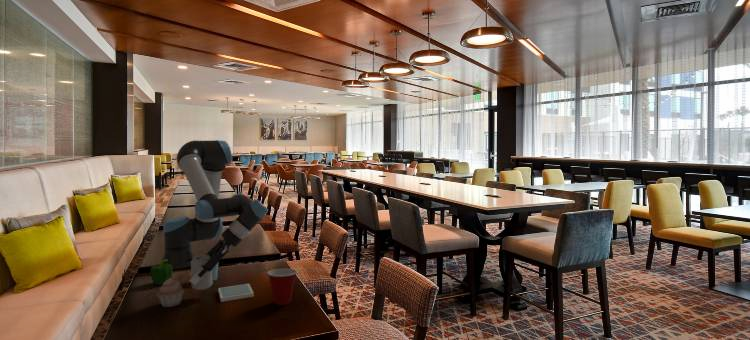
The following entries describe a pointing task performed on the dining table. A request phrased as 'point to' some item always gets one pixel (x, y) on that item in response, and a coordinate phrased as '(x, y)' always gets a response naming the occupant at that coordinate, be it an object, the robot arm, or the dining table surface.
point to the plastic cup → (282, 285)
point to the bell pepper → (161, 272)
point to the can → (195, 267)
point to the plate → (235, 292)
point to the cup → (215, 272)
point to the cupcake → (170, 293)
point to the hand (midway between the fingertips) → (192, 279)
